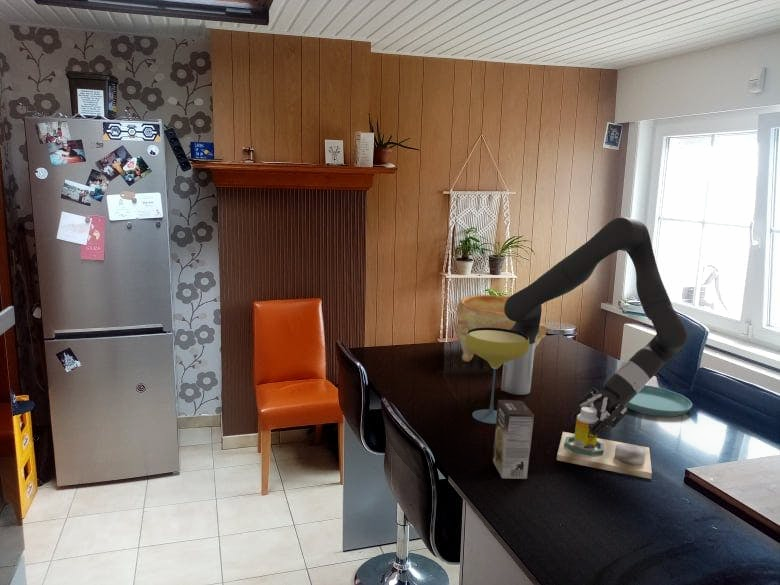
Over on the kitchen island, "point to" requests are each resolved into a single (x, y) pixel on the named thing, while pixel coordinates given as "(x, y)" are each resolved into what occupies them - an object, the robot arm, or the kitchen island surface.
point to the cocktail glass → (495, 356)
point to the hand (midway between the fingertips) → (582, 426)
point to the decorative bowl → (484, 318)
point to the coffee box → (512, 439)
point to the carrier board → (607, 456)
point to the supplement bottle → (585, 429)
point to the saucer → (659, 402)
